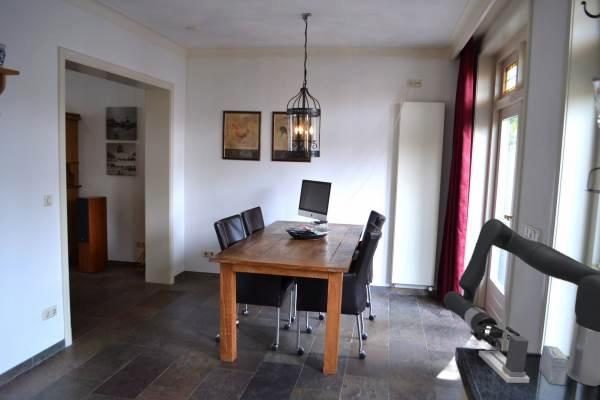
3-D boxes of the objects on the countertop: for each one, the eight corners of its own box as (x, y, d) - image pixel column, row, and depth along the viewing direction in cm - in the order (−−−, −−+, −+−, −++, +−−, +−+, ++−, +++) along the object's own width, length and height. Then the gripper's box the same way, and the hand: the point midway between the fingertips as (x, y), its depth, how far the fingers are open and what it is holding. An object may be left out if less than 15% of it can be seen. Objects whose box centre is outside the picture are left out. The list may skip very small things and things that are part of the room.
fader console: (498, 355, 140) (498, 350, 140) (528, 382, 124) (529, 377, 124) (478, 354, 139) (479, 350, 139) (506, 382, 124) (507, 377, 123)
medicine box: (564, 386, 124) (569, 359, 123) (548, 383, 125) (552, 356, 124) (553, 372, 132) (558, 346, 131) (538, 369, 133) (543, 344, 131)
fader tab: (517, 369, 128) (522, 335, 127) (525, 376, 125) (531, 341, 123) (502, 368, 128) (507, 335, 126) (510, 376, 124) (515, 341, 122)
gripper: (462, 311, 144) (488, 332, 128) (500, 312, 146) (530, 333, 130) (459, 331, 145) (484, 355, 129) (497, 332, 147) (527, 356, 131)
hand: (507, 344), depth 130 cm, fingers open, 8 cm apart
